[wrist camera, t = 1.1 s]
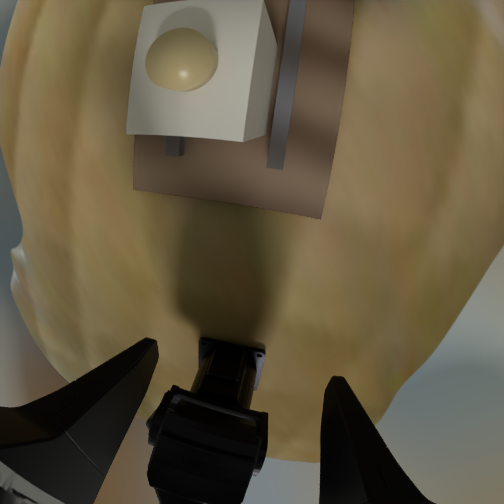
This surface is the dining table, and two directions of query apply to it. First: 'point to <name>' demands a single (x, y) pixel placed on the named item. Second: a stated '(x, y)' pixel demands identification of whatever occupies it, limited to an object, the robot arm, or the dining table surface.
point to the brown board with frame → (269, 124)
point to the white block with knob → (203, 70)
